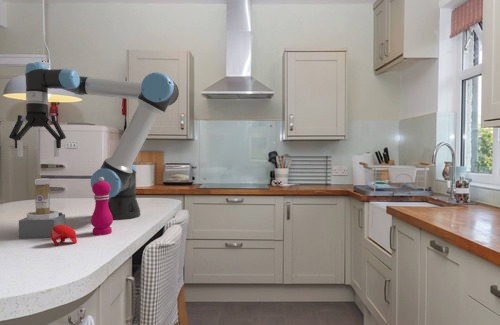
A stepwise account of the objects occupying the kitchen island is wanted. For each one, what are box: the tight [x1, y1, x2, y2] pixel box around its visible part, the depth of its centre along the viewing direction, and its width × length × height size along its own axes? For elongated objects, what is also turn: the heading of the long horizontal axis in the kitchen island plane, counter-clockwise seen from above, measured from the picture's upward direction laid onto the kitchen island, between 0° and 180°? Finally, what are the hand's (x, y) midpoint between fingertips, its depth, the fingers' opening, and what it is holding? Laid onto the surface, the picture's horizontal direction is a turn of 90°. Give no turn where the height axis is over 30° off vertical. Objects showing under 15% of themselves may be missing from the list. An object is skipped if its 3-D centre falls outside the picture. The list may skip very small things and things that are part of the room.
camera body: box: [18, 210, 66, 239], centre depth 125 cm, size 11×10×8 cm
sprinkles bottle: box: [34, 177, 51, 215], centre depth 125 cm, size 5×5×13 cm
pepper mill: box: [90, 177, 114, 236], centre depth 126 cm, size 7×7×20 cm
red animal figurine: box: [50, 224, 78, 247], centre depth 113 cm, size 8×6×6 cm
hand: (38, 156), depth 144 cm, fingers open, 13 cm apart
